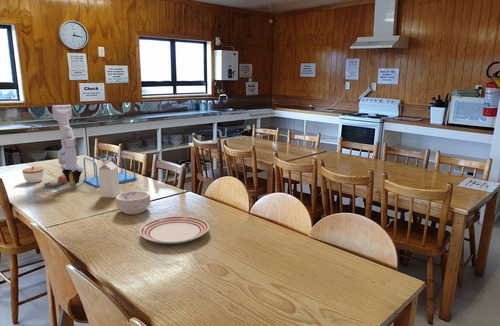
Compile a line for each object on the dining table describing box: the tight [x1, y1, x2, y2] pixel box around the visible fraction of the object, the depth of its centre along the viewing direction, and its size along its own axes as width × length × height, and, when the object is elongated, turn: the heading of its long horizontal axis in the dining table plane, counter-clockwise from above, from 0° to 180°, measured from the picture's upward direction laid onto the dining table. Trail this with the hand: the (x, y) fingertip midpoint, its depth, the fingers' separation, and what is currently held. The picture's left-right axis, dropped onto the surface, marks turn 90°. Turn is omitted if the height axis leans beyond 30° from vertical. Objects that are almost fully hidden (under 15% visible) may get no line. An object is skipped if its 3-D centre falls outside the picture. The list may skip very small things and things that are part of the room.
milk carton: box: [97, 158, 120, 199], centre depth 197 cm, size 7×7×19 cm
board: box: [35, 182, 85, 194], centre depth 211 cm, size 18×16×1 cm
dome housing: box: [43, 180, 64, 188], centre depth 212 cm, size 7×7×2 cm
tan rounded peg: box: [69, 171, 77, 186], centre depth 214 cm, size 4×4×8 cm
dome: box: [49, 179, 59, 184], centre depth 212 cm, size 4×4×2 cm
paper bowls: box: [115, 190, 151, 215], centre depth 177 cm, size 15×15×8 cm
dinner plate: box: [139, 215, 210, 245], centre depth 153 cm, size 27×27×3 cm
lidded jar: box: [22, 165, 45, 184], centre depth 220 cm, size 11×11×9 cm
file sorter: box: [83, 151, 138, 188], centre depth 224 cm, size 25×17×15 cm
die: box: [57, 175, 69, 184], centre depth 218 cm, size 4×4×4 cm
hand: (73, 182), depth 215 cm, fingers open, 5 cm apart
